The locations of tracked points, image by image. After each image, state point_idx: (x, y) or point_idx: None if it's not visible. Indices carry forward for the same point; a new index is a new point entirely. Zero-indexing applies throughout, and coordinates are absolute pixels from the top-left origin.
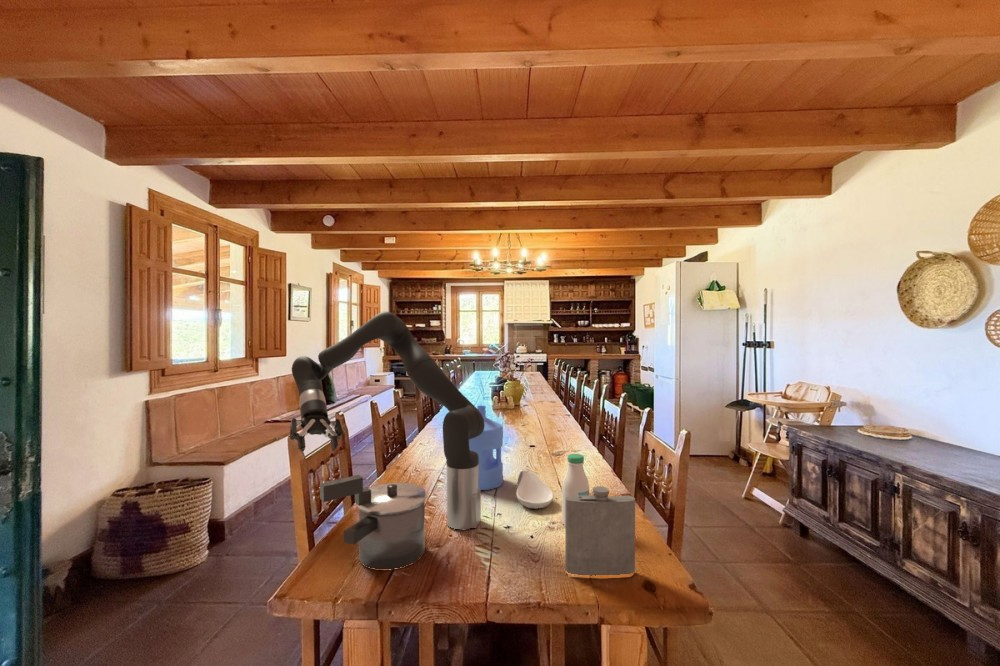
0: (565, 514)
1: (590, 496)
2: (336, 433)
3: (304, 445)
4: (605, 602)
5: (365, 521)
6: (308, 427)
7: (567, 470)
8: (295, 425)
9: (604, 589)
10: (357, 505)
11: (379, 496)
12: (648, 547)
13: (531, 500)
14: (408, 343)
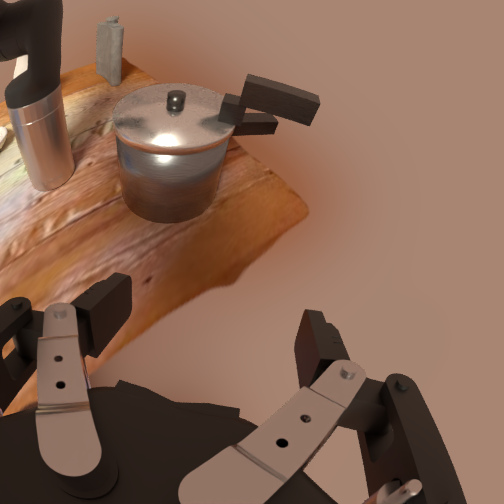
0: (119, 41)
1: (112, 24)
2: (45, 313)
3: (312, 312)
4: (140, 70)
5: (243, 117)
6: (297, 407)
7: (25, 60)
8: (419, 450)
9: (126, 72)
10: (228, 138)
11: (194, 115)
12: (61, 77)
13: None
14: None
